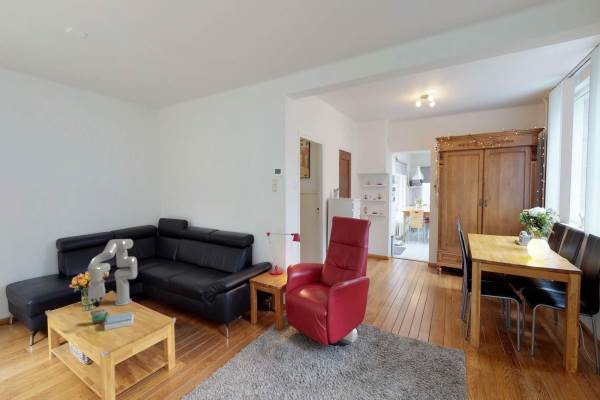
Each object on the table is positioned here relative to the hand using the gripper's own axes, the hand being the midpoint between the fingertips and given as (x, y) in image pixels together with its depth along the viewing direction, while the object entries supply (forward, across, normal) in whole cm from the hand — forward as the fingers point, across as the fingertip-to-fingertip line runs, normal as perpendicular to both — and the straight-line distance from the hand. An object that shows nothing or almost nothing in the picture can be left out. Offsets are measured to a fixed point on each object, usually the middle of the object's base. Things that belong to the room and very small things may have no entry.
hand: (97, 306), depth 206 cm
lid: (+13, -14, -1) cm, 19 cm away
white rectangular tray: (+17, -14, -1) cm, 22 cm away
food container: (+18, +1, -10) cm, 20 cm away
